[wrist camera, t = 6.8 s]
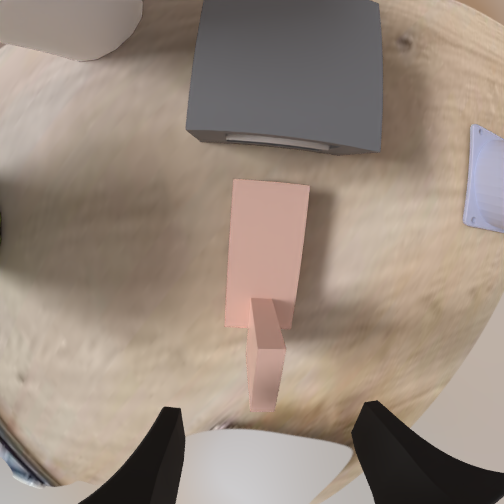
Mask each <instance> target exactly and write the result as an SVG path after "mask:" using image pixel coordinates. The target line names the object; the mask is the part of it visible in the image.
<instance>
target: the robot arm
mask: <svg viewBox="0 0 504 504" xmlns="http://www.w3.org/2000/svg"><path fill="white" fill-rule="evenodd" d="M479 132H480V133H479ZM471 220H472V222H471ZM463 223H464V224H465V225H467V226H472V227H477V228H482V229H487V230H492V231H496V232H501V233H504V139H503V138H501V137H499V136H498V135H496V134H494V133H492V132H490V131H489V130H487V129H485V128H483V127H481V126H479V125H477V124H472V125H471V128H470V158H469V172H468V183H467V192H466V200H465V208H464V214H463ZM351 434H352V438H353V443H354V447H355V451H356V454H357V456H358V459H359V462H360V464H361V467H362V469H363V471H364V474H365V476H366V479H367V481H368V484H369V486H370V489H371V491H372V494H373V497H374V501H375V504H495V503H496V502H498V501H499V500H500V499H501V498H502V497H503V496H504V473H500V472H494V471H490V470H485V469H482V468H479V467H476V466H473V465H470V464H467V463H465V462H462V461H460V460H458V459H455V458H453V457H452V456H450V455H448V454H446V453H444V452H442V451H441V450H439V449H437V448H436V447H434V446H433V445H431V444H430V443H428V442H427V441H426V440H424V439H423V438H421V437H420V436H419V435H417V434H416V433H415V432H414V431H412V430H411V429H410V428H409V427H407V426H406V425H405V424H404V423H403V422H402V421H400V420H399V419H398V418H397V417H396V416H395V415H394V414H392V413H391V412H390V411H389V410H388V409H387V408H386V407H385V406H383V405H382V404H381V403H380V402H379V401H378V400H376V401H370V402H364V405H363V407H362V410H361V412H360V414H359V417H358V419H357V421H356V423H355V425H354V428H353V430H352V432H351ZM184 451H185V433H184V427H183V421H182V414H181V408H173V407H163V408H162V410H161V412H160V414H159V415H158V417H157V419H156V421H155V422H154V424H153V426H152V427H151V429H150V430H149V432H148V433H147V435H146V436H145V438H144V439H143V440H142V442H141V443H140V445H139V446H138V447H137V449H136V450H135V451H134V452H133V454H132V455H131V456H130V457H129V459H128V460H127V461H126V462H125V463H124V465H123V466H122V467H121V468H120V469H119V470H118V471H117V472H116V473H115V474H114V475H113V476H112V477H111V478H110V479H109V480H108V481H107V482H106V483H104V484H103V485H102V486H101V487H100V488H99V489H98V490H96V491H95V492H94V493H93V494H91V495H90V496H89V497H87V498H86V499H84V500H83V501H81V502H80V503H78V504H175V503H176V498H177V493H178V487H179V482H180V477H181V472H182V467H183V462H184Z"/></svg>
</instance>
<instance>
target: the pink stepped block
mask: <svg viewBox="0 0 504 504" xmlns="http://www.w3.org/2000/svg"><path fill="white" fill-rule="evenodd" d="M309 191H310V186H309V185H302V184H293V183H283V182H272V181H260V180H247V179H233V192H232V206H231V221H230V236H229V252H228V269H227V287H226V307H225V327H238V328H248V335H247V347H246V364H247V377H248V389H249V402H250V412H274V411H275V406H276V401H277V396H278V391H279V386H280V381H281V375H282V370H283V364H284V359H285V353H286V347H285V343H284V340H283V336H282V333H281V329H291V326H292V319H293V313H294V307H295V300H296V294H297V287H298V280H299V273H300V266H301V258H302V251H303V243H304V235H305V227H306V218H307V209H308V200H309Z"/></svg>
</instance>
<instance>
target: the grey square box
mask: <svg viewBox="0 0 504 504" xmlns="http://www.w3.org/2000/svg"><path fill="white" fill-rule="evenodd" d="M382 113H383V56H382V36H381V22H380V11H379V4H378V3H376V2H373V1H370V0H204V2H203V7H202V12H201V18H200V23H199V29H198V35H197V41H196V47H195V54H194V61H193V68H192V75H191V83H190V91H189V100H188V109H187V119H186V130H187V131H188V132H189V133H190V134H192V135H193V136H194V137H195V138H197V139H198V140H199V141H200V142H217V143H234V144H248V145H260V146H270V147H280V148H289V149H297V150H305V151H312V152H319V153H326V154H332V155H350V154H363V153H378V152H380V149H381V134H382Z"/></svg>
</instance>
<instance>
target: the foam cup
mask: <svg viewBox="0 0 504 504" xmlns="http://www.w3.org/2000/svg"><path fill="white" fill-rule="evenodd" d="M142 8H143V2H142V0H0V43H4V44H10V45H15V46H20V47H24V48H29V49H33V50H37V51H41V52H45V53H49V54H53V55H57V56H60V57H64V58H67V59H71V60H74V61H75V60H76V61H78V62H82V61H89V60H97V59H99V58H101V57H102V56H104V55H106V54H108V53H110V52H112V51H114V50H116V49H117V48H118V47H119V46H120V45H121V44H122V43H123V42H124V41H126V40H127V39H128V38H129V37H130V36H131V35H132V34H133V32H134V30H135V29H136V27H137V25H138V23H139V22H140V20H141V18H142Z"/></svg>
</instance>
